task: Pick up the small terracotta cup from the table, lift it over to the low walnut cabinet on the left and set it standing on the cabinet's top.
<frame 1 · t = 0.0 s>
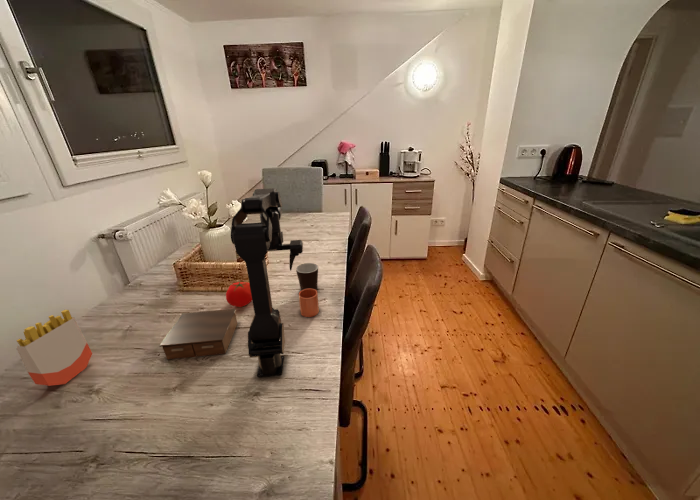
hand: (277, 271, 96), 15 cm above the table, tool pointing down, fingers open, 9 cm apart
french fries container: (69, 375, 75), on the table
coffee mug: (310, 288, 113), on the table
tomato: (242, 303, 105), on the table
cup: (309, 311, 99), on the table
low cabinet: (205, 339, 86), on the table
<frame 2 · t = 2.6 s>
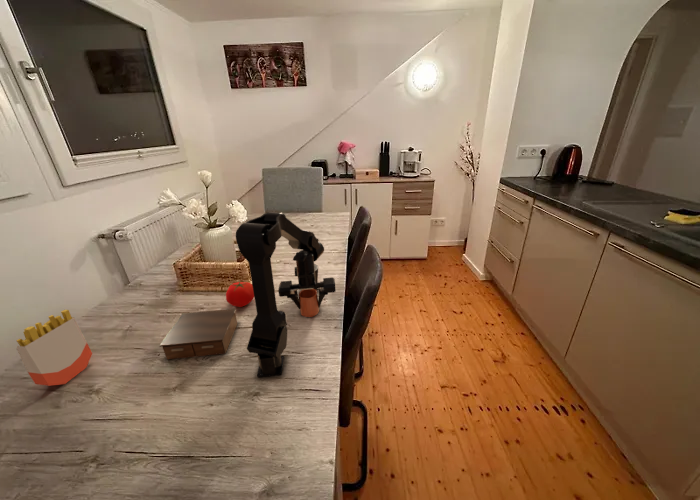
hand: (309, 307, 98), 2 cm above the table, tool pointing down, fingers closed on cup, 6 cm apart
cup: (309, 311, 99), on the table, touching gripper
everything else where it was.
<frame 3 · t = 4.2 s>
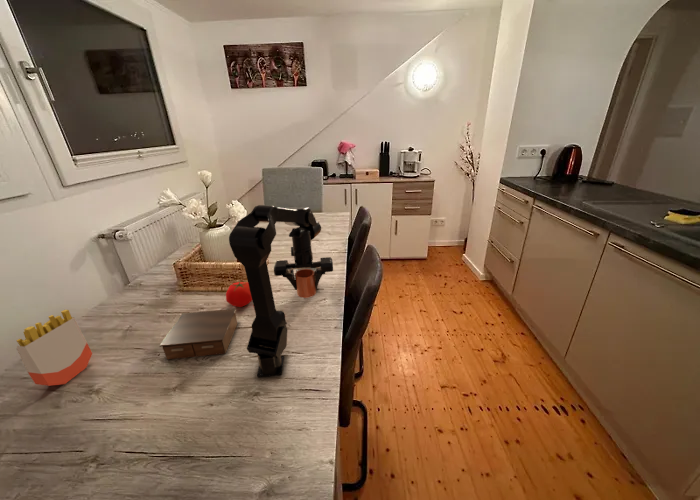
hand: (306, 288, 95), 10 cm above the table, tool pointing down, fingers closed on cup, 6 cm apart
cup: (306, 292, 95), point 8 cm above the table, touching gripper
everything else where it was.
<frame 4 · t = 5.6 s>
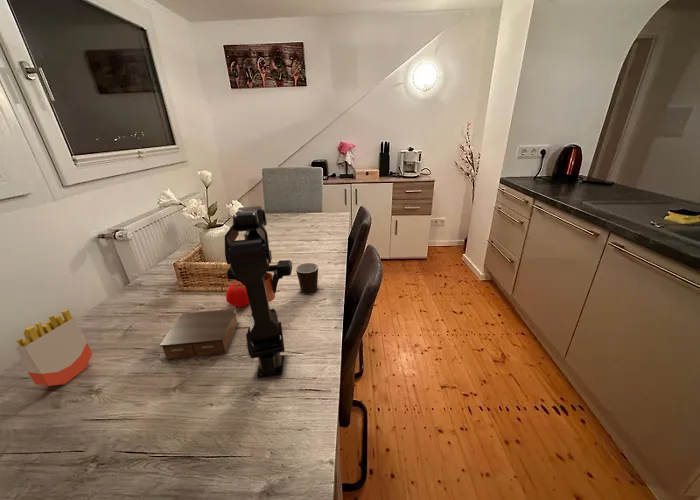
hand: (264, 293, 89), 11 cm above the table, tool pointing down, fingers closed on cup, 6 cm apart
cup: (265, 297, 90), point 10 cm above the table, touching gripper
everything else where it was.
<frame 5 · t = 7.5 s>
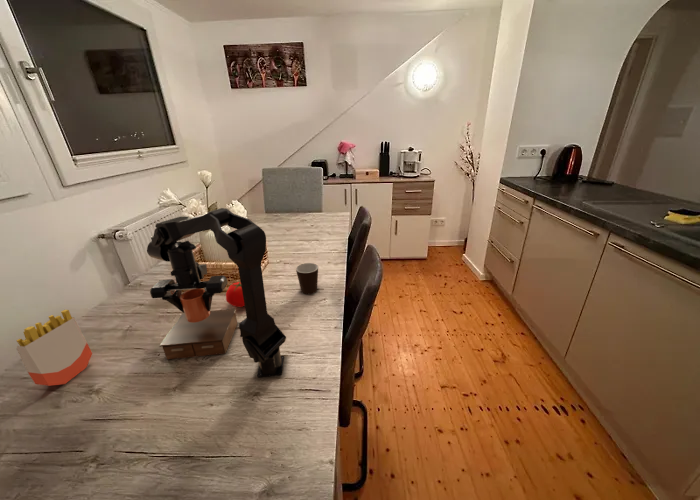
hand: (197, 311, 82), 11 cm above the table, tool pointing down, fingers closed on cup, 6 cm apart
cup: (198, 315, 83), point 9 cm above the table, touching gripper
everything else where it was.
when the fingers open (7 cm above the table, at t = 9.0 s): cup stays where it is, resting on low cabinet.
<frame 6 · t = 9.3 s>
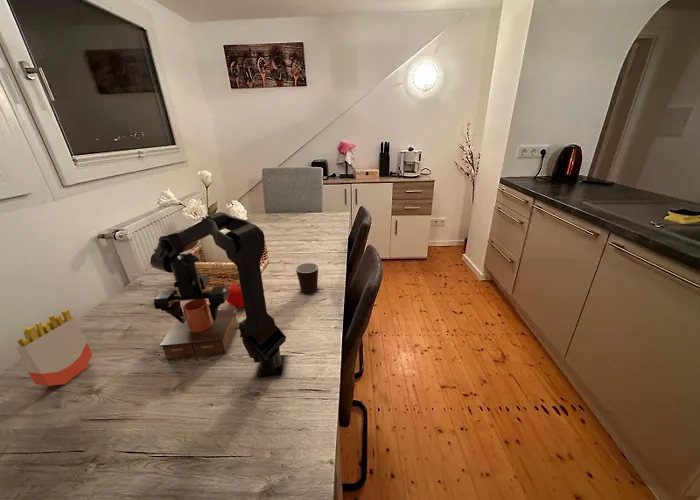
hand: (199, 321, 84), 7 cm above the table, tool pointing down, fingers open, 9 cm apart
cup: (201, 325, 84), point 5 cm above the table, touching low cabinet
everything else where it was.
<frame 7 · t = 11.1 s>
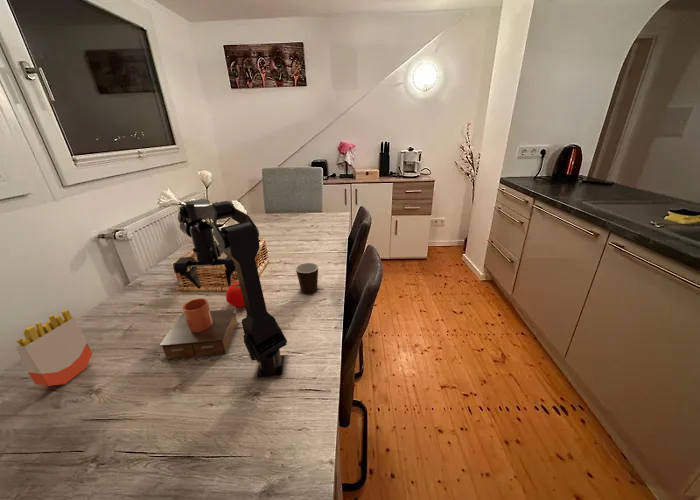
hand: (214, 286, 90), 13 cm above the table, tool pointing down, fingers open, 9 cm apart
nothing on the table moved.
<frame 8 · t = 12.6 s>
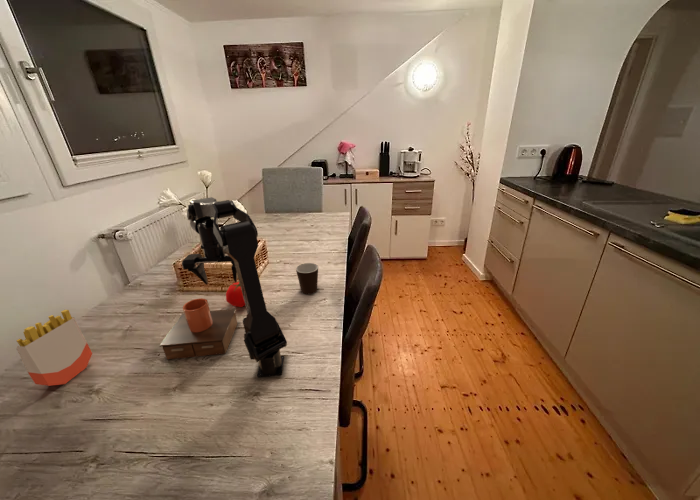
hand: (221, 282, 93), 13 cm above the table, tool pointing down, fingers open, 9 cm apart
nothing on the table moved.
at the end: cup inside the target area on the low cabinet (0.1 cm from its centre), point 5.5 cm above the low cabinet's base; cup tilted 0°; the gripper is holding nothing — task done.
